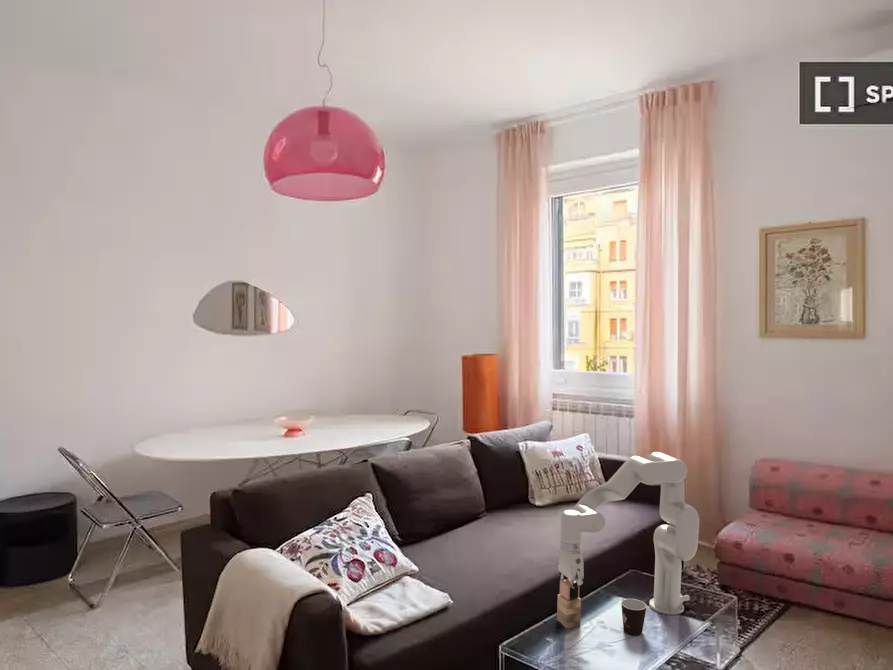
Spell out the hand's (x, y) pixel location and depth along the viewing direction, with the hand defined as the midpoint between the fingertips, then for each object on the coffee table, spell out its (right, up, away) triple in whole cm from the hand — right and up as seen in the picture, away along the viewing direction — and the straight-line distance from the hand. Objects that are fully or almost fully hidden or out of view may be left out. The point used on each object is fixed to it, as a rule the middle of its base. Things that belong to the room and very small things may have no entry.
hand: (569, 594), depth 241 cm
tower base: (0, -11, +1) cm, 11 cm away
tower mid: (0, -6, 0) cm, 6 cm away
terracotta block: (0, 0, 0) cm, 0 cm away
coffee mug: (+22, -12, -3) cm, 25 cm away
